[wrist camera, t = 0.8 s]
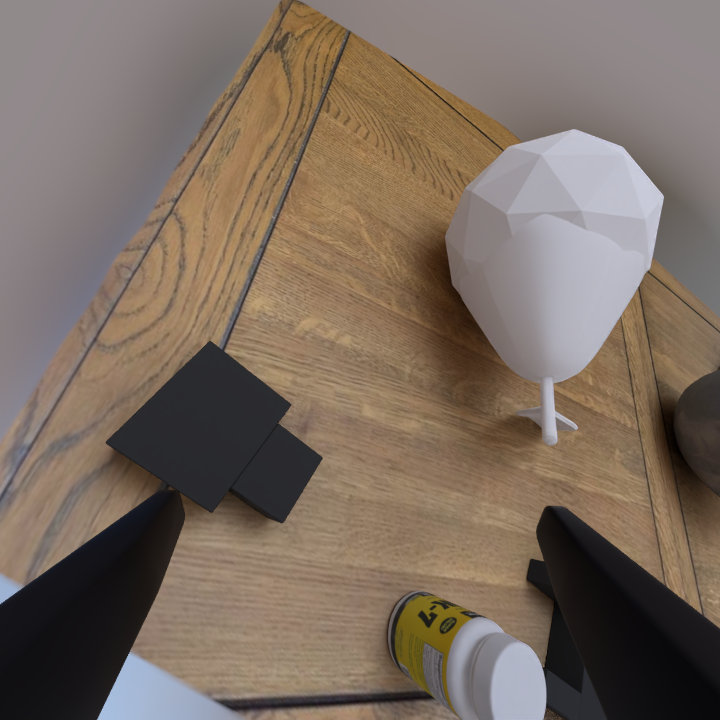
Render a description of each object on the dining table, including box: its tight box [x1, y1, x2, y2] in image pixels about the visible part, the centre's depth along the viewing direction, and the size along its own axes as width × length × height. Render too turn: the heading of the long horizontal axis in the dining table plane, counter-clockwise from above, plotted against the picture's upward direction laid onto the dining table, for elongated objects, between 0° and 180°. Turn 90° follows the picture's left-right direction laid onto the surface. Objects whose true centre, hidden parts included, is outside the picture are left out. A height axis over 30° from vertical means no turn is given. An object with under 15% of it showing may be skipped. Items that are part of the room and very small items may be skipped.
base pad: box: [527, 559, 607, 720], centre depth 28 cm, size 9×8×3 cm
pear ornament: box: [445, 129, 664, 445], centre depth 31 cm, size 16×22×28 cm
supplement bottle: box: [388, 591, 546, 720], centre depth 20 cm, size 5×5×8 cm
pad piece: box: [106, 341, 322, 523], centre depth 20 cm, size 7×10×3 cm
